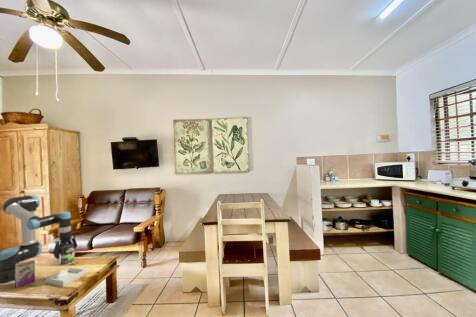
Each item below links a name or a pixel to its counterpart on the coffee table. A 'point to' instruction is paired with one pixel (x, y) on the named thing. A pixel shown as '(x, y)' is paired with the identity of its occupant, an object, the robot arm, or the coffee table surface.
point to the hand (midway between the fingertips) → (66, 259)
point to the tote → (65, 276)
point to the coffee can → (67, 254)
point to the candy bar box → (24, 273)
